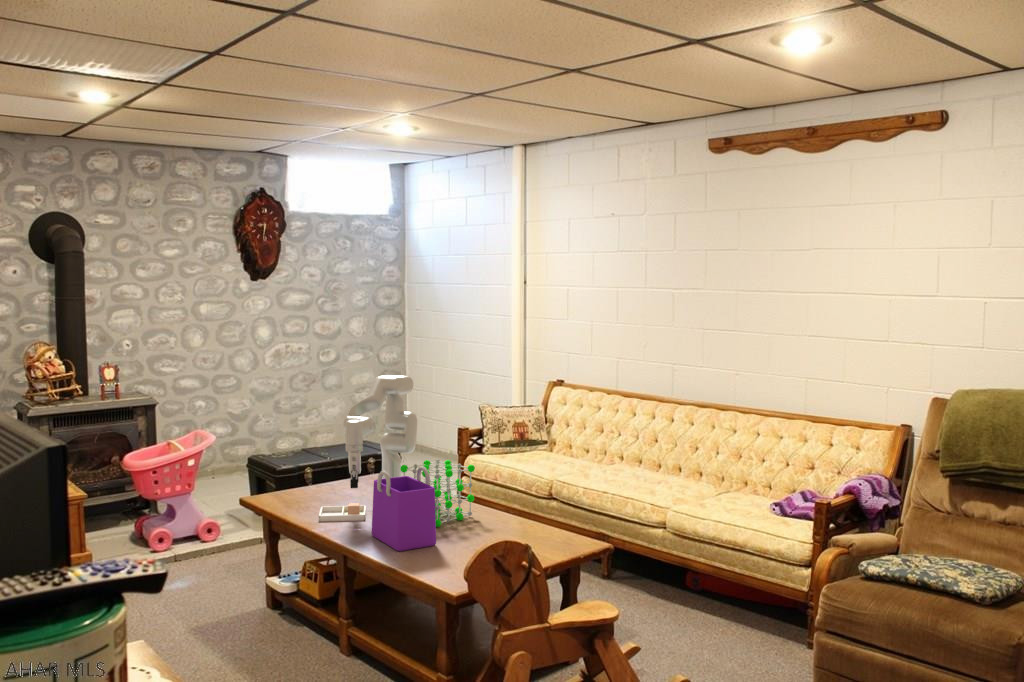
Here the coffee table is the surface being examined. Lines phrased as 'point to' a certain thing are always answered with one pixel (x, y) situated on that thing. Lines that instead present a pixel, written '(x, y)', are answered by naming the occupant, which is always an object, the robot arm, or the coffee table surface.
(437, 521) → the molecular structure model
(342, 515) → the sorting box
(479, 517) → the coffee table surface
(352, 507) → the plain light orange cube
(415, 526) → the shopping bag
